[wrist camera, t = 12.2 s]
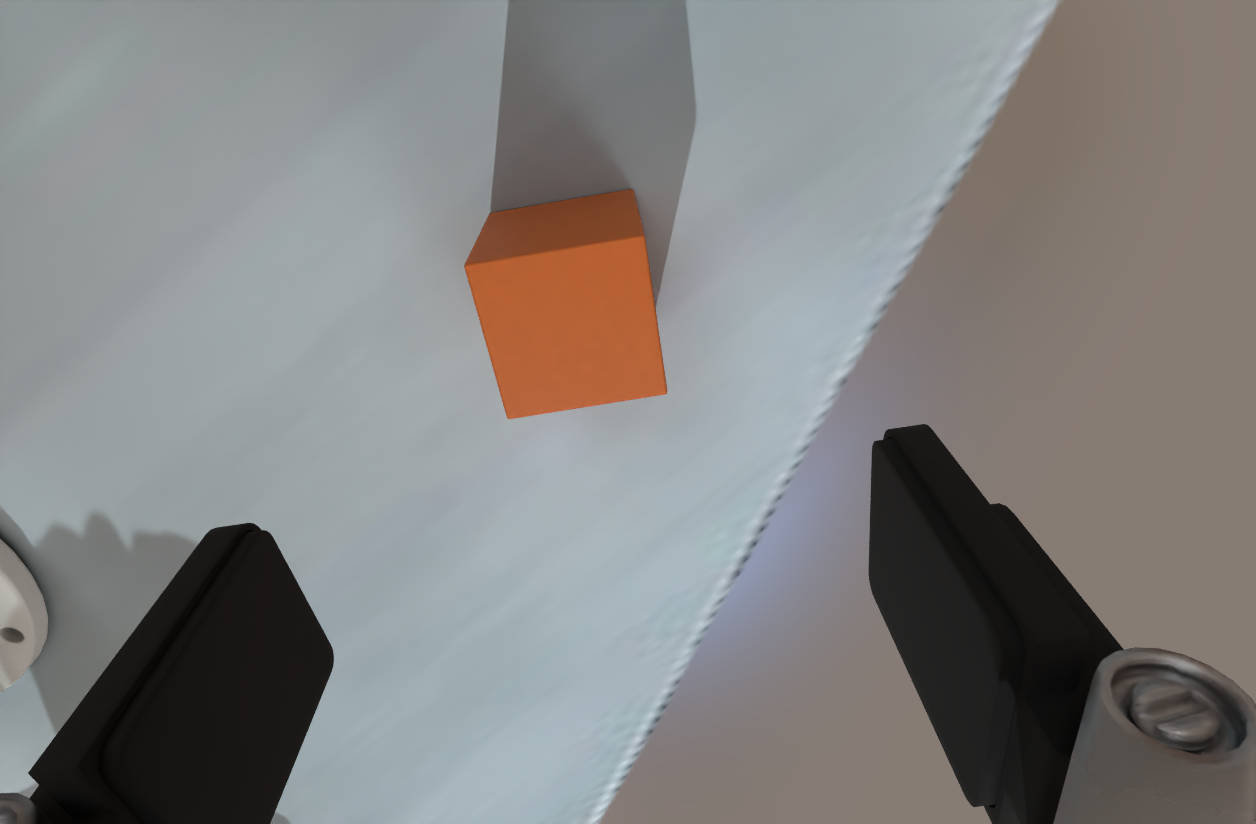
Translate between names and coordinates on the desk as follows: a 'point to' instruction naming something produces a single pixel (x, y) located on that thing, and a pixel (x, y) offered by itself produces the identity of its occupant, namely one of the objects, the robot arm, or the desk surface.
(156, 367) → the desk surface
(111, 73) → the desk surface
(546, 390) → the plain orange cube
